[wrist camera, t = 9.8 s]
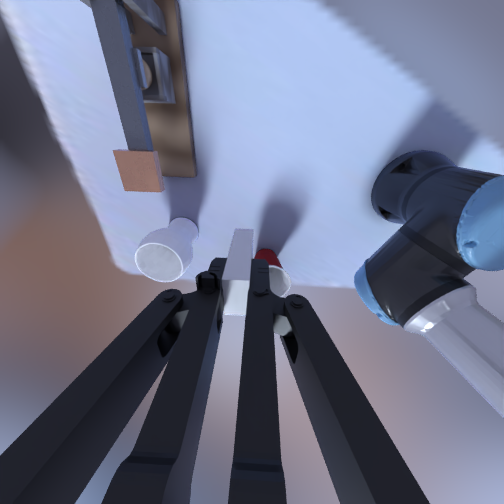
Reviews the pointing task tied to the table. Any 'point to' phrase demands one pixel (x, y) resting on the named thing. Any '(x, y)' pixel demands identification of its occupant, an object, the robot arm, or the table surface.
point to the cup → (167, 250)
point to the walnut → (147, 74)
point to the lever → (128, 98)
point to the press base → (165, 114)
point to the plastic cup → (275, 273)
